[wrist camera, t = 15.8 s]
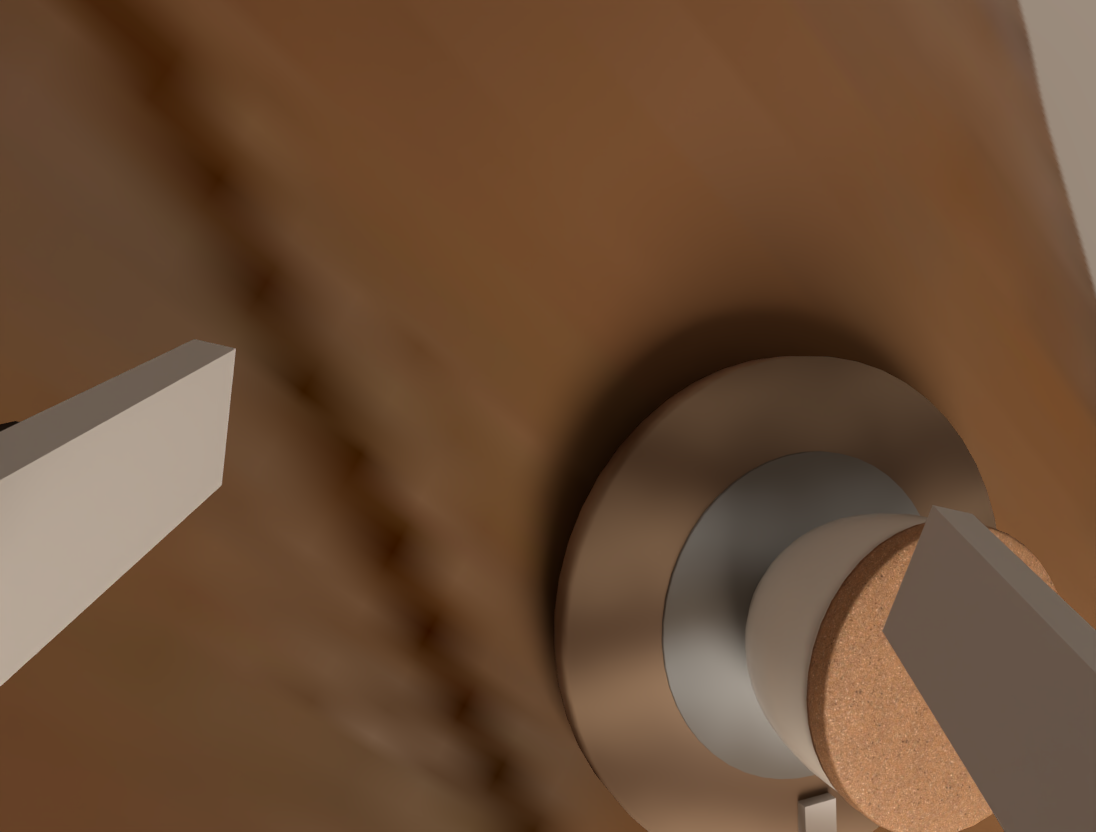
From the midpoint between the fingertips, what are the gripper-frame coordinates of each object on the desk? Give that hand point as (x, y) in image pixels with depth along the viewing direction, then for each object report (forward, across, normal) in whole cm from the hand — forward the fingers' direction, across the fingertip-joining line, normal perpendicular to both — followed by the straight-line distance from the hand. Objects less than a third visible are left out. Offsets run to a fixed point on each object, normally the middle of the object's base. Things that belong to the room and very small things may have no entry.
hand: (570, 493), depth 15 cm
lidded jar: (+17, +12, -10) cm, 23 cm away
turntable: (+19, +12, -11) cm, 25 cm away
